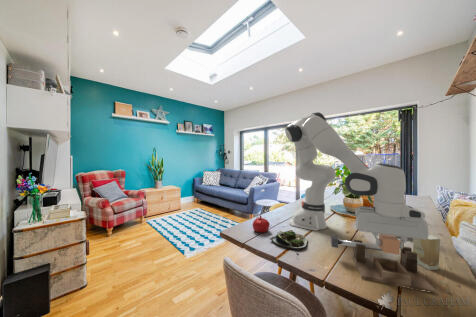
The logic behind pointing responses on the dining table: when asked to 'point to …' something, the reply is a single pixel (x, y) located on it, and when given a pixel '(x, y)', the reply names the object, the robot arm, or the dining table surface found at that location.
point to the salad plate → (290, 240)
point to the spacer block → (389, 244)
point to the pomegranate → (260, 225)
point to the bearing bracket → (391, 269)
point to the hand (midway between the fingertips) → (388, 246)
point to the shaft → (352, 243)
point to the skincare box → (427, 252)
